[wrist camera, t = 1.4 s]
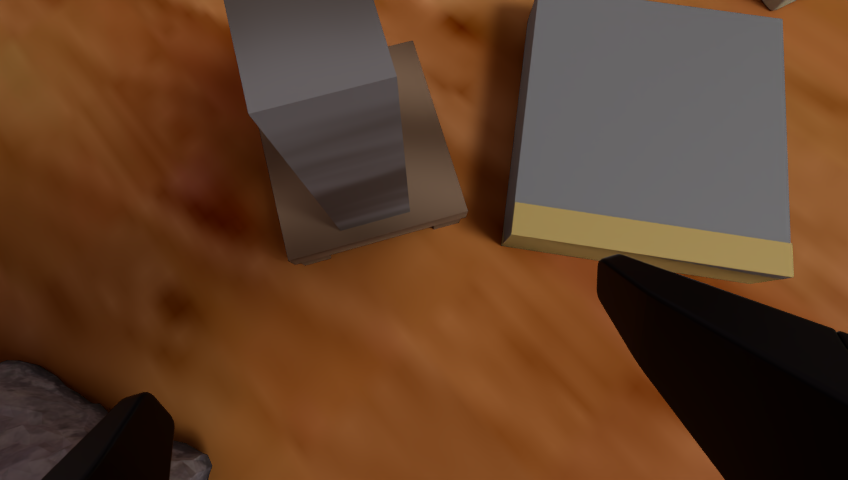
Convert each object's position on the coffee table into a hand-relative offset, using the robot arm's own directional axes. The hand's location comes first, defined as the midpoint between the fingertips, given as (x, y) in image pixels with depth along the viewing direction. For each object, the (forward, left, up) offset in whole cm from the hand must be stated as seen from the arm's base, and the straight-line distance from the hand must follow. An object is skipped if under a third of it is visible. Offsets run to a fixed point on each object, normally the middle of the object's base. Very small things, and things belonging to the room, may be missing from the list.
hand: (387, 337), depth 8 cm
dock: (+13, -10, -13) cm, 21 cm away
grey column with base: (+9, +5, -13) cm, 17 cm away
